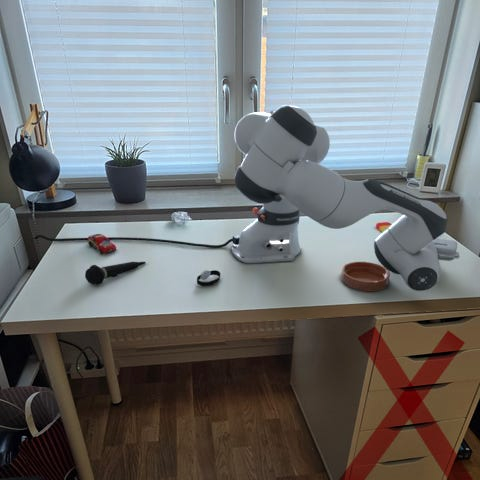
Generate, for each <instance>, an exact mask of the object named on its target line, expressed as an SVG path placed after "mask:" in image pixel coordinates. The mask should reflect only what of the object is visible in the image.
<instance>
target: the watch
mask: <svg viewBox="0 0 480 480" xmlns="http://www.w3.org/2000/svg"><path fill="white" fill-rule="evenodd" d="M210 276H217V278H215V279H212V280H209V281H206V280H207V279H208V278H209V277H210ZM220 280H221V271H219V270H215V269H214V270H209V269H204V270H203V271H202V272H201V273H200V274H199V275H197V276H196V284H197V285H198V286H200V287H212V286H214V285H215V284H218V282H220Z"/></svg>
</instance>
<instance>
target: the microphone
mask: <svg viewBox="0 0 480 480" xmlns="http://www.w3.org/2000/svg"><path fill="white" fill-rule="evenodd" d="M143 265H146V261H129V262H121V263H117V264H112V265H105V266H102V267H100V266H99V265H96V264H92V265H90V267H88V268H87V269H86V270H85V272H84V273H85V274H84V278H85V281H87V282H88V284H91V285H96V286H99V285H101V284H103V281H105V280H106V279H109V278H117V277H118V276H119V275H121V274H124V273H128V272H131V271H133V270H136V269H137V268H139V267H141V266H143Z"/></svg>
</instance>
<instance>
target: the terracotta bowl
mask: <svg viewBox="0 0 480 480" xmlns="http://www.w3.org/2000/svg"><path fill="white" fill-rule="evenodd" d="M341 269H342V270H341V276H340V278H341V279H340V280H341V282H342V283H344V284H345V285H346V286H348V287H350V288H352V289H354V290H359V291H366V292H375V291H380V290H383V289H385V288H387V287H388V285H389V283H390V278H391V272H390V271H389V270H387V269H386V268H385V267H384V266H383V265H381V264H378V263H375V262H369V261H352V262H349V263H346V264H344V266H342V268H341Z"/></svg>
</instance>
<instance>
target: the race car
mask: <svg viewBox="0 0 480 480" xmlns="http://www.w3.org/2000/svg"><path fill="white" fill-rule="evenodd" d="M107 237H108V236H105V234H102V233H95V234H91V235H88V236H87V238H88V240H87V243H88V245H89V247H90V248H92V249H94V250H95V251H97V252H98V253H99V254H100V255H101V256H102V255H108V254H112V253H115V252H116V251H117V246H116V244H114V243H113V241H112V240H111V239H110V240H109V239H108V238H107Z"/></svg>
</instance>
